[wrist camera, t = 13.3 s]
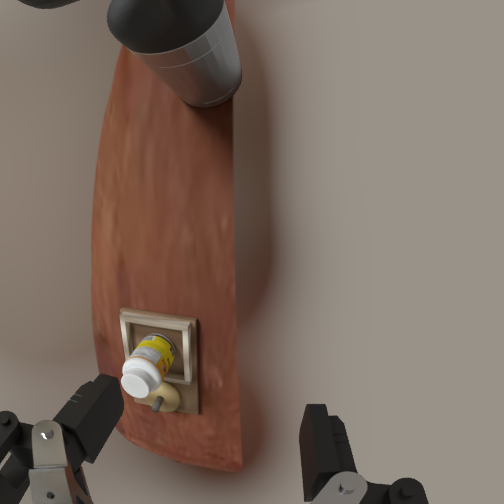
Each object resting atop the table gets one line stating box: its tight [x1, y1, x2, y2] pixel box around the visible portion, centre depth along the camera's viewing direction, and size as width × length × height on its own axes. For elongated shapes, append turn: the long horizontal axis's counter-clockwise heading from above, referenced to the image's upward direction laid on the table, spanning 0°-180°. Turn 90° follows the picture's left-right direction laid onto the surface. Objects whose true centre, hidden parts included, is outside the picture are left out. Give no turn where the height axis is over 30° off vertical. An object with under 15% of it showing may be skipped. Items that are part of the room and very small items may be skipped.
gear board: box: [120, 307, 199, 415], centre depth 40 cm, size 19×12×6 cm, turn 176°
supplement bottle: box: [121, 334, 175, 398], centre depth 36 cm, size 6×6×10 cm
